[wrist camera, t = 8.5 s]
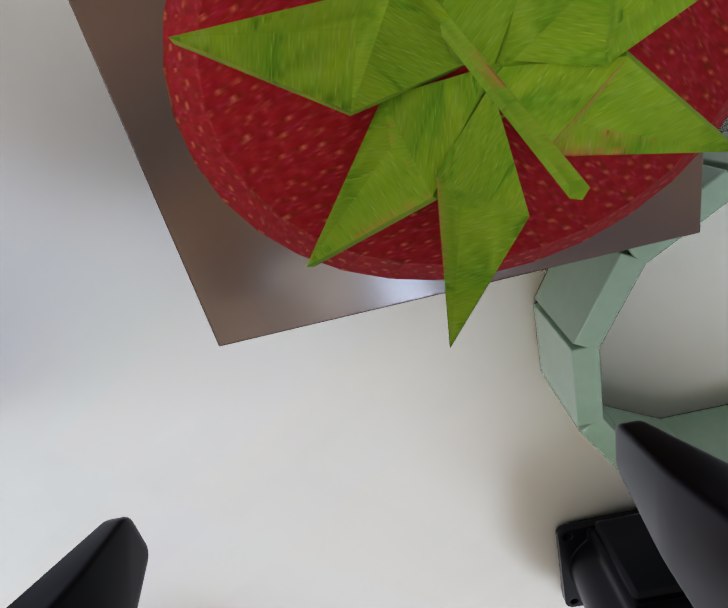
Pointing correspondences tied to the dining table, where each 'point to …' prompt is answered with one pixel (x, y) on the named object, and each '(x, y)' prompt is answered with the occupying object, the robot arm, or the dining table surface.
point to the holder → (592, 322)
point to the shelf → (260, 253)
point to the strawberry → (443, 123)
